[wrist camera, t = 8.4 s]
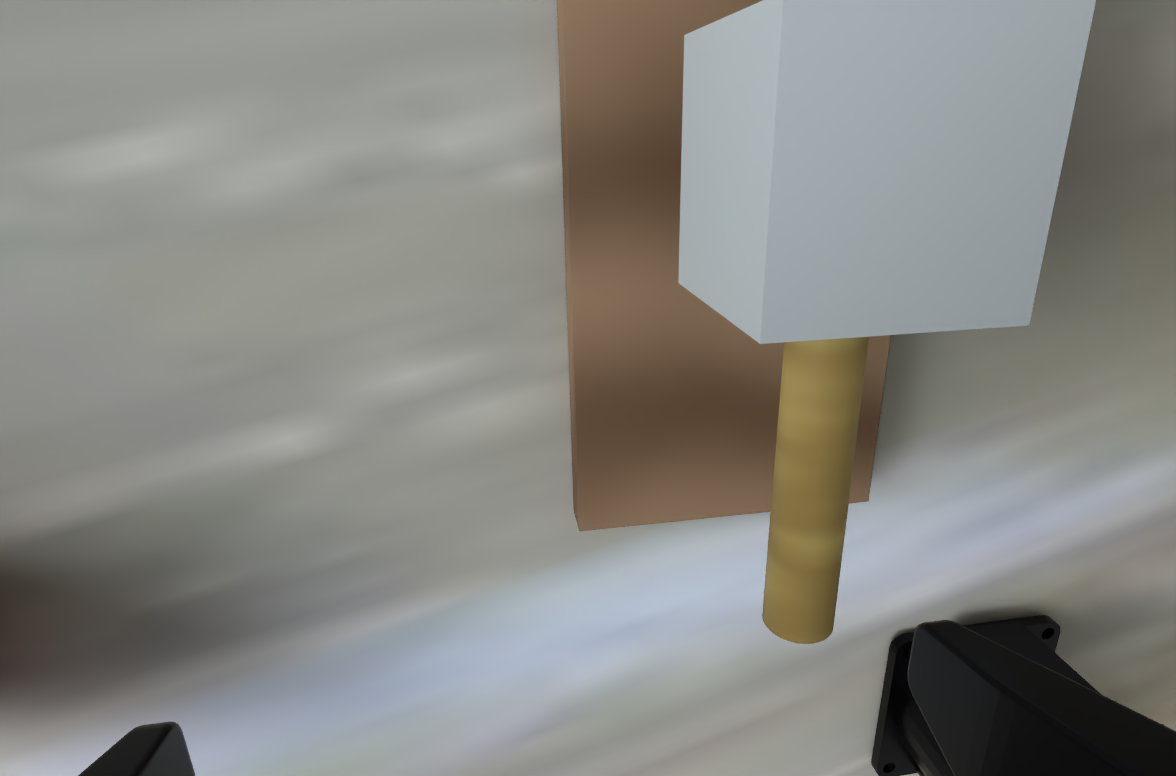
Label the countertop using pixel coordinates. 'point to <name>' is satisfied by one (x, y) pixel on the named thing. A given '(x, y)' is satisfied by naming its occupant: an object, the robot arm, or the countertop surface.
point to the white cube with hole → (875, 162)
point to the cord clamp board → (690, 334)
